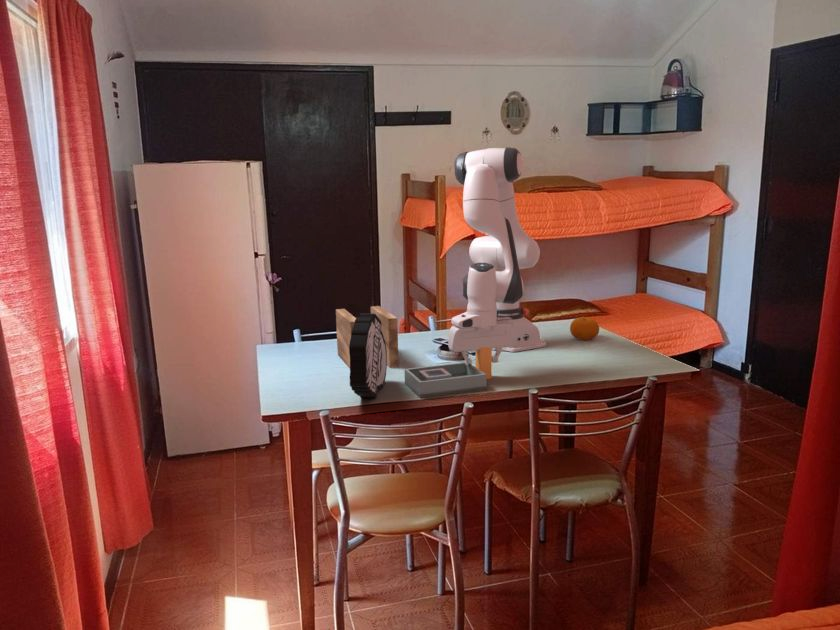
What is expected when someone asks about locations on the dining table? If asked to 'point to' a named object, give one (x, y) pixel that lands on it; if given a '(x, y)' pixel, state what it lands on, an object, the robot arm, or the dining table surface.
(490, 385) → the dining table surface
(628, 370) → the dining table surface
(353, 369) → the wall sign
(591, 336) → the fruit
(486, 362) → the orange rectangular block
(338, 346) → the bookends
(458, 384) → the bin
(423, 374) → the socket
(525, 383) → the dining table surface
